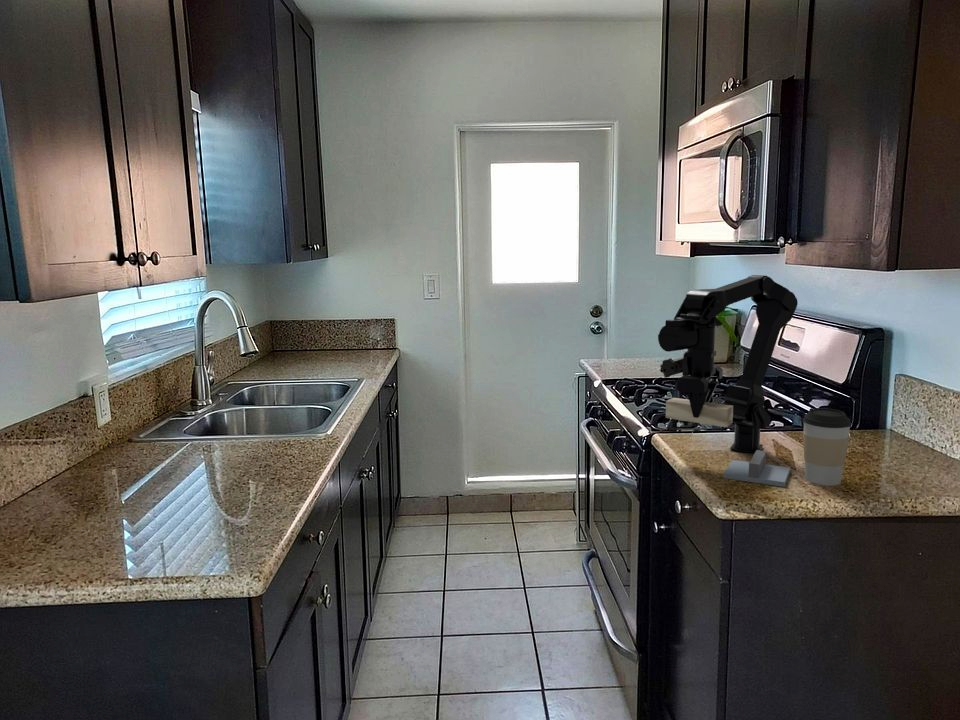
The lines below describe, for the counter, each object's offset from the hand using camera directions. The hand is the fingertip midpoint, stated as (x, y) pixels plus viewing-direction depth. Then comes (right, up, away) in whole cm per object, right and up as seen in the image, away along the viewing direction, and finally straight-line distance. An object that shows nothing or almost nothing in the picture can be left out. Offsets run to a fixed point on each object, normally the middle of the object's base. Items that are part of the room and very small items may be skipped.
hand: (698, 415), depth 154 cm
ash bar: (0, -1, 0) cm, 1 cm away
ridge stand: (+10, -12, -8) cm, 18 cm away
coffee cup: (+22, -13, -12) cm, 28 cm away
